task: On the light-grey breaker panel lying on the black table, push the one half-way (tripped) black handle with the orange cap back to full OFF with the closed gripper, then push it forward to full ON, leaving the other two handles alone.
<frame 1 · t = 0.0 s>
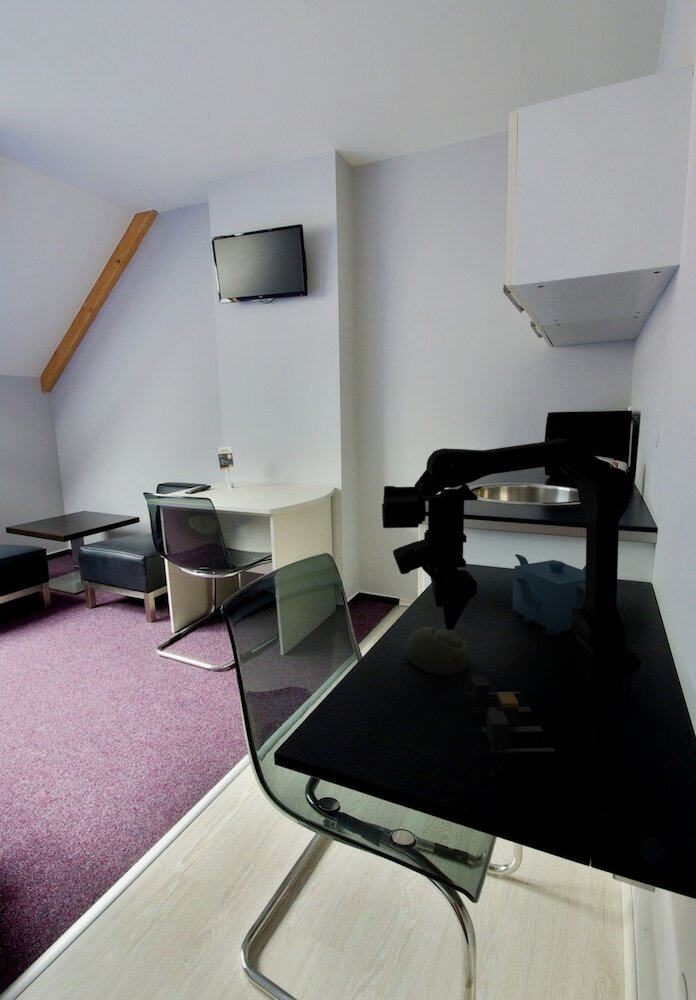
hand: (444, 617, 83), 15 cm above the table, fingers open, 9 cm apart
panel: (506, 726, 78), on the table
seashell: (435, 668, 96), on the table
handle 1: (479, 690, 82), point 3 cm above the table, slide at 6.0 cm
handle 2: (497, 729, 72), point 3 cm above the table, slide at 6.0 cm
tripped handle: (507, 708, 77), point 3 cm above the table, slide at 3.0 cm
teakettle: (549, 622, 115), on the table
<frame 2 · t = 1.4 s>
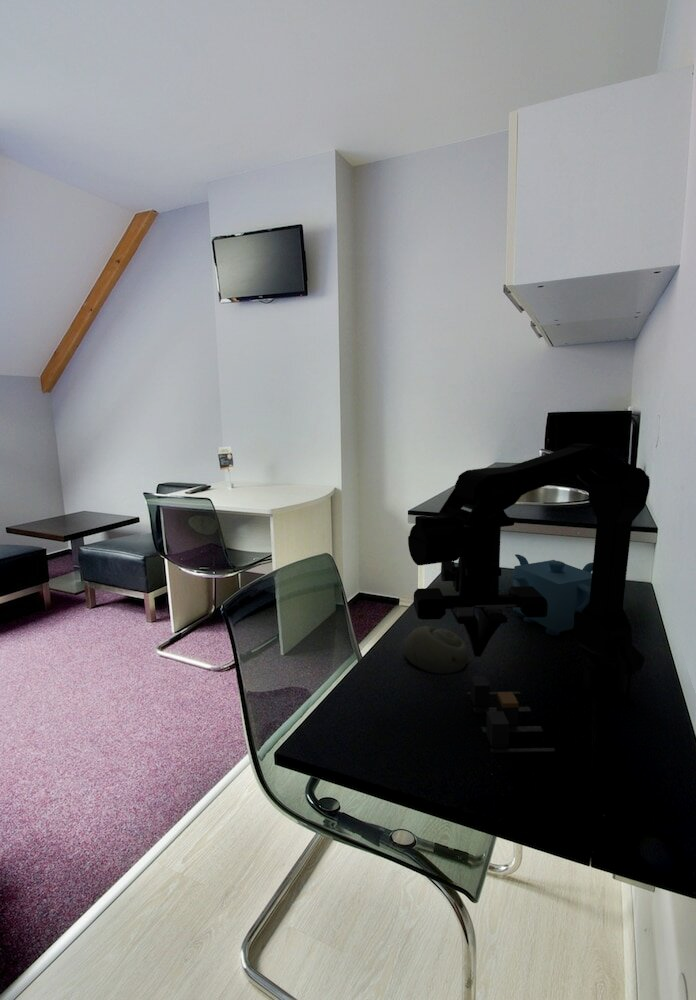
hand: (476, 655, 76), 12 cm above the table, fingers closed
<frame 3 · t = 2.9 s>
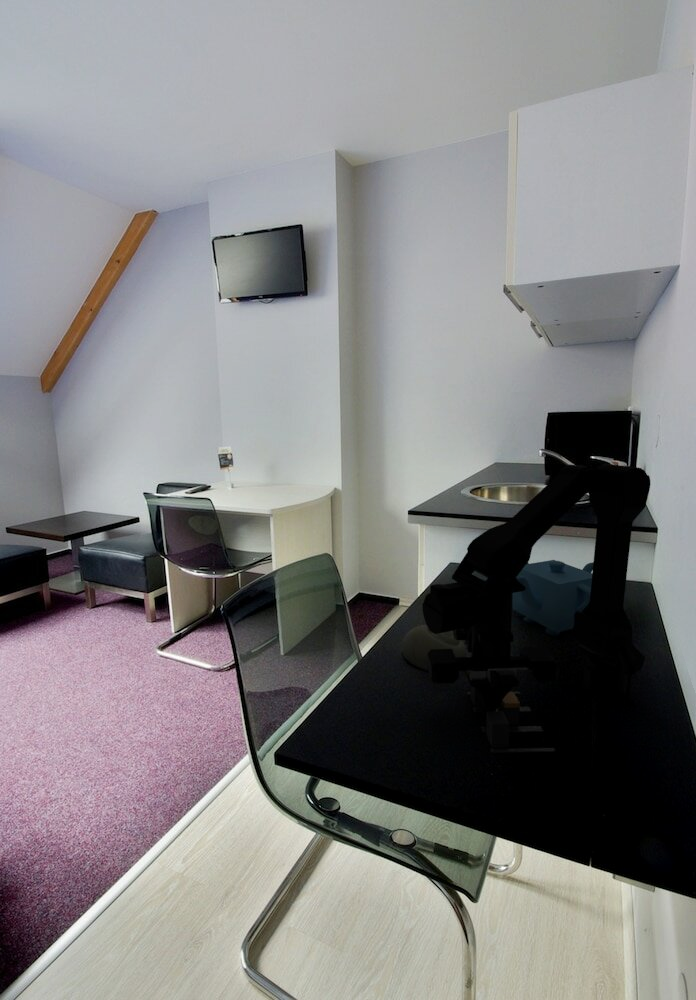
hand: (488, 714, 77), 2 cm above the table, fingers closed
tripped handle: (508, 708, 77), point 3 cm above the table, slide at 2.8 cm, touching gripper
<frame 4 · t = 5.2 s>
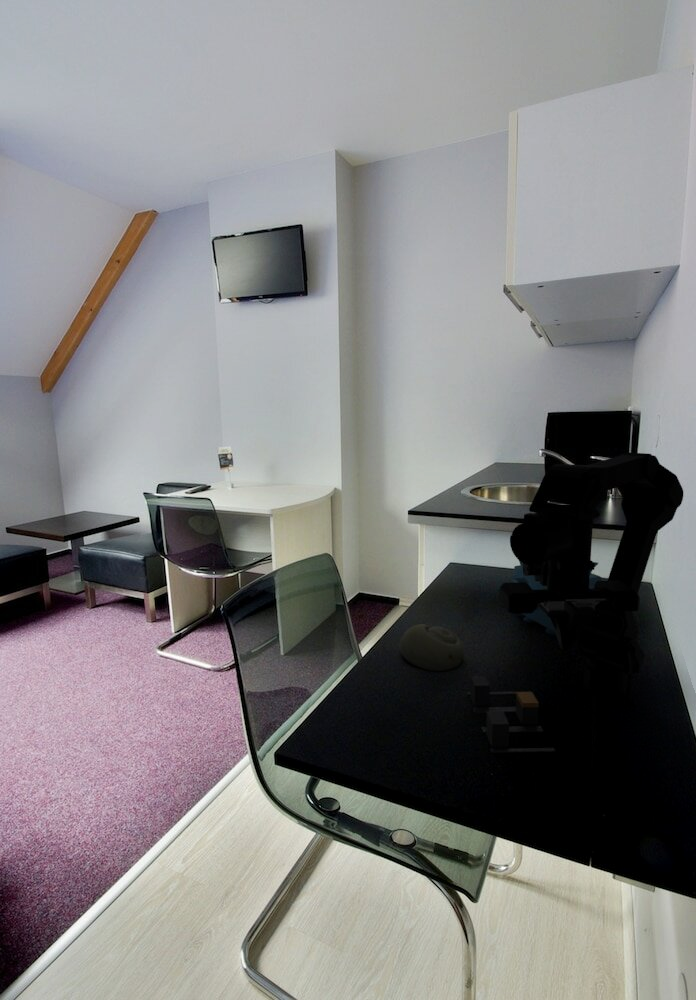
hand: (564, 649, 76), 13 cm above the table, fingers closed
tripped handle: (526, 708, 77), point 3 cm above the table, slide at 0.0 cm
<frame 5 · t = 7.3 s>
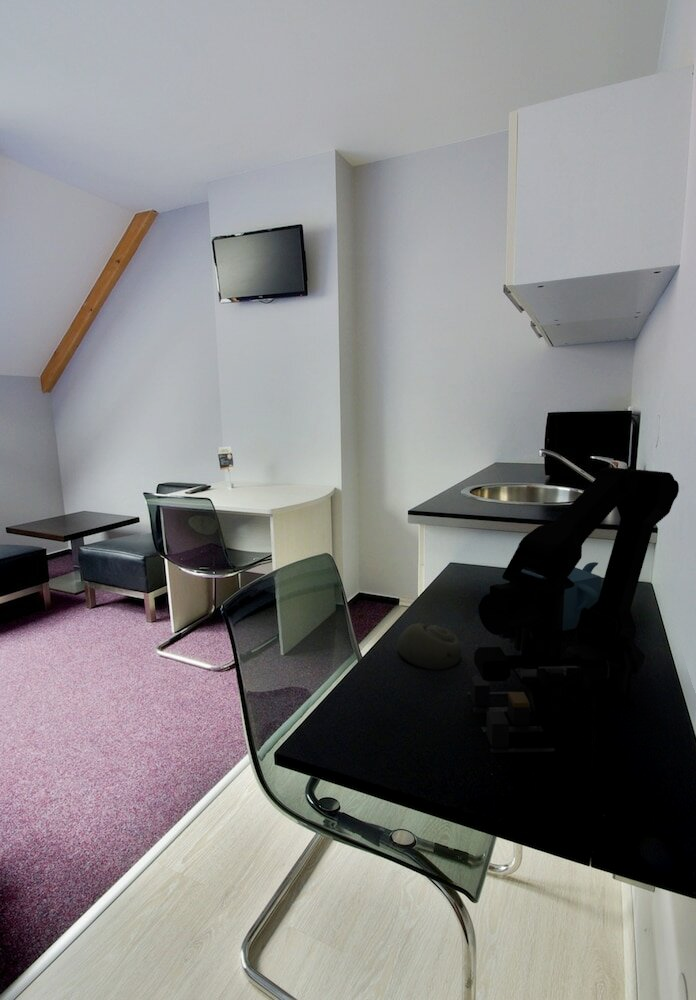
hand: (536, 713, 77), 2 cm above the table, fingers closed
tripped handle: (518, 708, 77), point 3 cm above the table, slide at 1.3 cm, touching gripper
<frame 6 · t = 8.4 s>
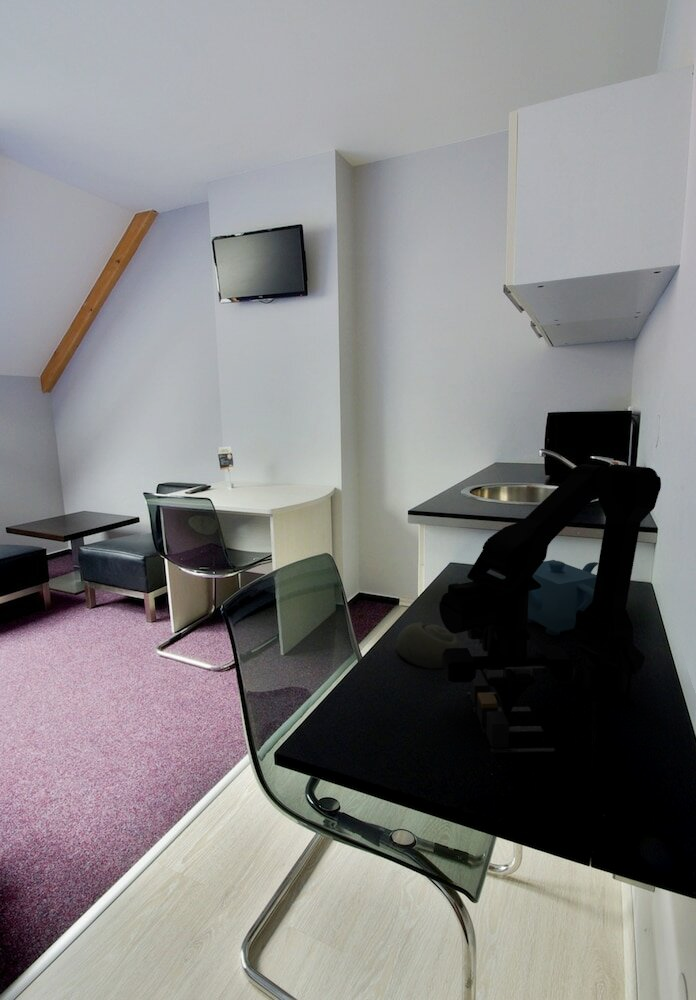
hand: (505, 713, 77), 2 cm above the table, fingers closed
tripped handle: (487, 708, 77), point 3 cm above the table, slide at 6.1 cm, touching gripper
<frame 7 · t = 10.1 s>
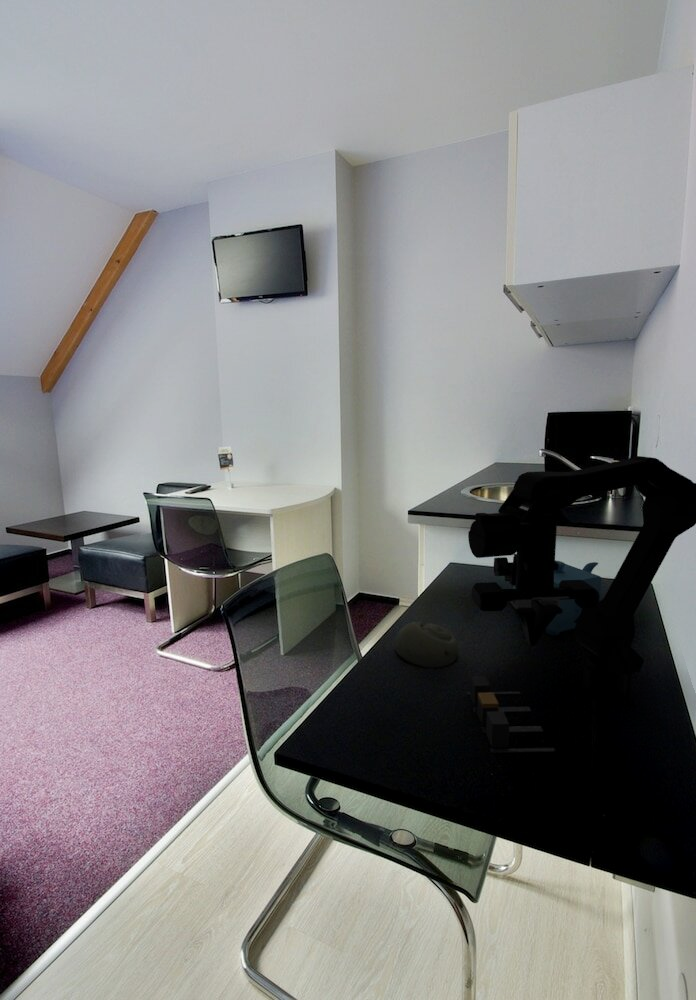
hand: (531, 644, 81), 11 cm above the table, fingers closed
tripped handle: (487, 708, 77), point 3 cm above the table, slide at 6.0 cm
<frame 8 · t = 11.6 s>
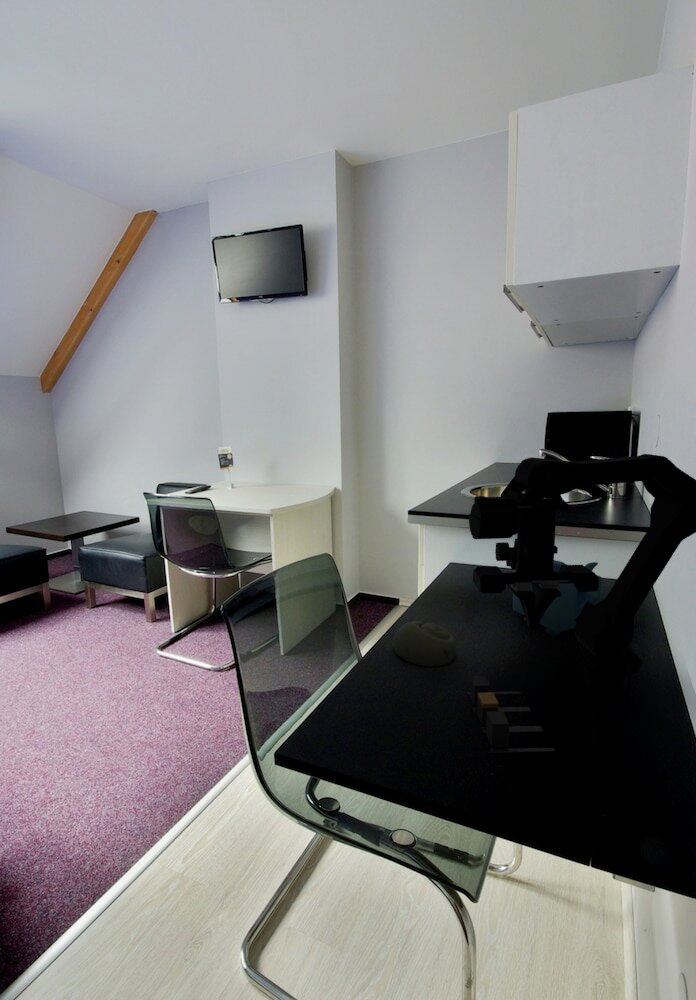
hand: (531, 627, 83), 13 cm above the table, fingers closed
at the end: tripped handle slide at 6.0 cm; handle 2 slide at 6.0 cm; handle 1 slide at 6.0 cm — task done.
